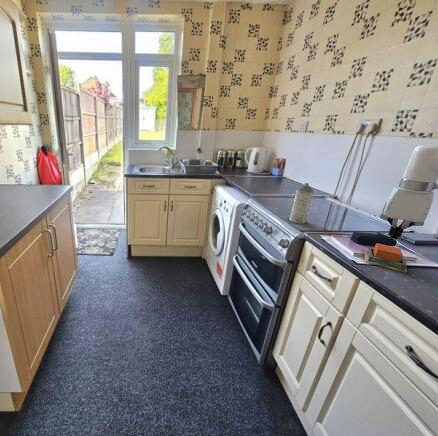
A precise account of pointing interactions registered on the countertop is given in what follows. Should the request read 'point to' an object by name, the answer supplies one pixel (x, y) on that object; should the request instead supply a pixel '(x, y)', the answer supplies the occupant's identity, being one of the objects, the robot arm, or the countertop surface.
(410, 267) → the countertop surface
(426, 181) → the robot arm
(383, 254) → the orange block
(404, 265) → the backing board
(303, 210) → the aerosol can
